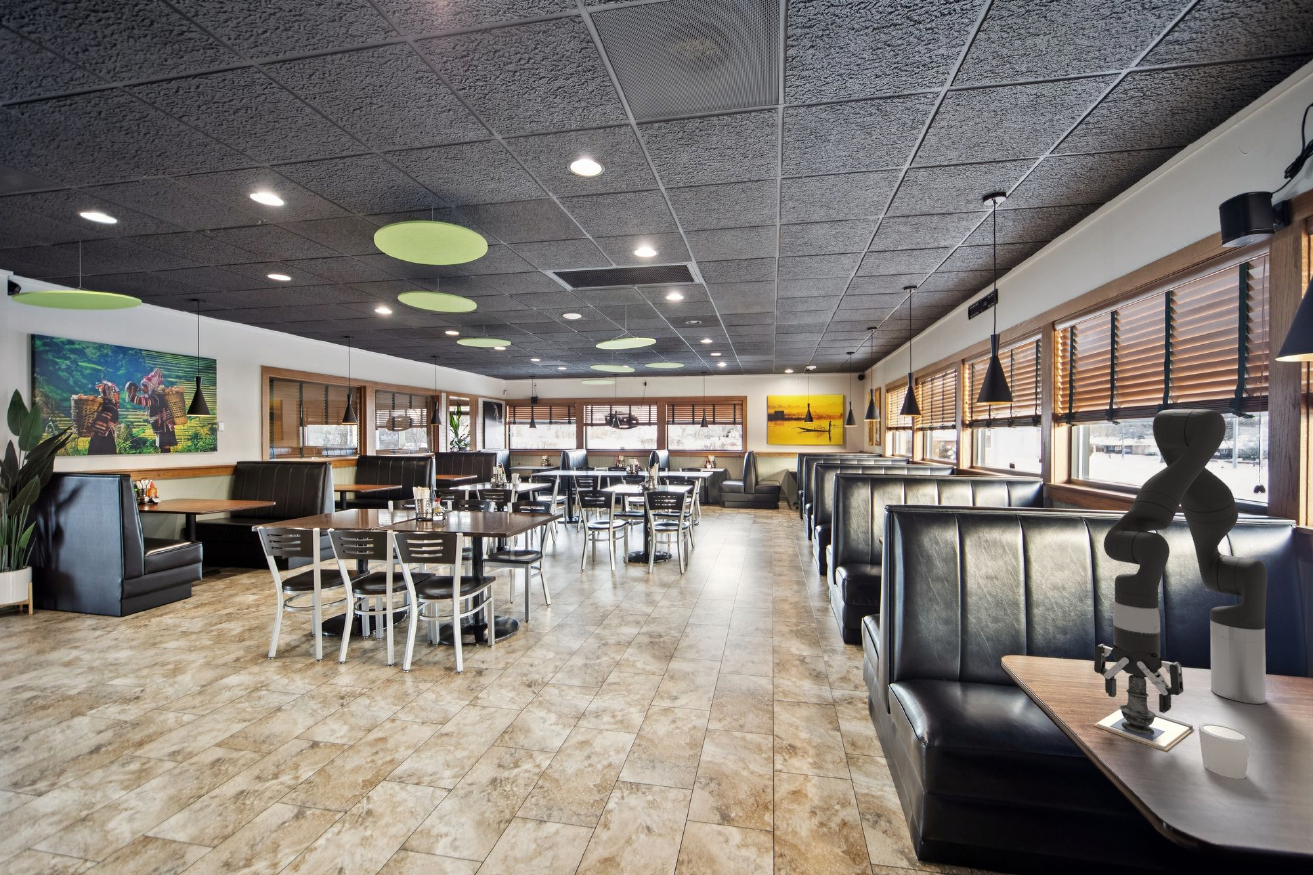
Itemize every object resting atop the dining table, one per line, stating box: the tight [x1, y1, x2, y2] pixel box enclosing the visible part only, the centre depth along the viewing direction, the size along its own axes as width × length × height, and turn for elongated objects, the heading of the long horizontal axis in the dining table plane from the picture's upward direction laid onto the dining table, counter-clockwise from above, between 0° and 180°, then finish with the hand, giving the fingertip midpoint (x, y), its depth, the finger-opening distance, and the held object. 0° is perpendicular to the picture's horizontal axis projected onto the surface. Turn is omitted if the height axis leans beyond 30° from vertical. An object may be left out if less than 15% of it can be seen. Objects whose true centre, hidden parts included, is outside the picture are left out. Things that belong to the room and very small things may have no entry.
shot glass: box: [1197, 723, 1251, 780], centre depth 106 cm, size 7×7×7 cm
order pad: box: [1093, 703, 1195, 752], centre depth 121 cm, size 16×12×1 cm
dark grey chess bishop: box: [1118, 674, 1157, 735], centre depth 119 cm, size 6×6×12 cm
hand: (1136, 703), depth 119 cm, fingers open, 8 cm apart
